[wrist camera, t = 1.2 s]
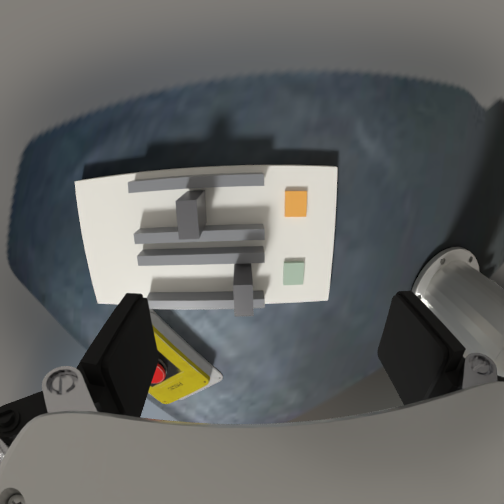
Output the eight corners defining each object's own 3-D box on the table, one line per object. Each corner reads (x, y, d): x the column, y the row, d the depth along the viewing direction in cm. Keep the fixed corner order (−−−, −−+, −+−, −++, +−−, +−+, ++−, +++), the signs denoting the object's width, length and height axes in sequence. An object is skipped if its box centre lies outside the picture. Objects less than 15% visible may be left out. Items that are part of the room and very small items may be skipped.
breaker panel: (332, 165, 27) (343, 168, 24) (324, 293, 32) (332, 309, 28) (81, 179, 26) (65, 184, 23) (102, 297, 31) (91, 311, 28)
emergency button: (133, 318, 28) (225, 398, 32) (144, 298, 32) (226, 374, 36) (89, 352, 29) (174, 420, 34) (102, 332, 33) (178, 398, 38)
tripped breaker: (205, 189, 25) (196, 199, 21) (206, 222, 26) (199, 238, 22) (187, 190, 25) (175, 201, 21) (189, 222, 26) (178, 239, 22)
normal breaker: (251, 261, 28) (252, 284, 23) (251, 288, 29) (253, 315, 24) (234, 261, 28) (232, 285, 23) (235, 289, 29) (234, 316, 24)
